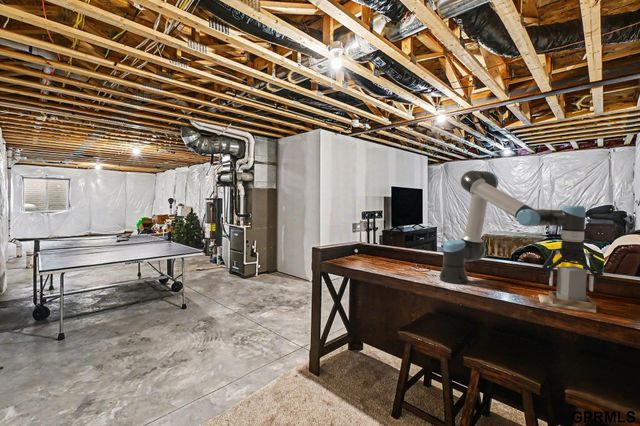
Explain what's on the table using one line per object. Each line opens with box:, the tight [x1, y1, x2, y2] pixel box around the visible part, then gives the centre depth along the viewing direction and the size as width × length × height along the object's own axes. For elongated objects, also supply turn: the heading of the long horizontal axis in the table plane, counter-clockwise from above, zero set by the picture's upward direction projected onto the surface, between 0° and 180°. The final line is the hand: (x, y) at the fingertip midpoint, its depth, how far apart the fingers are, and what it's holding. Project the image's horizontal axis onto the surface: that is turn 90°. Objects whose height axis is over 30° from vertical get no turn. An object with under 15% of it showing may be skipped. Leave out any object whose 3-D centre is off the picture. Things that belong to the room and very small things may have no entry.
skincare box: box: [556, 265, 588, 302], centre depth 127 cm, size 8×7×16 cm
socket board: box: [537, 290, 597, 314], centre depth 128 cm, size 18×13×4 cm
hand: (570, 287), depth 127 cm, fingers open, 13 cm apart
